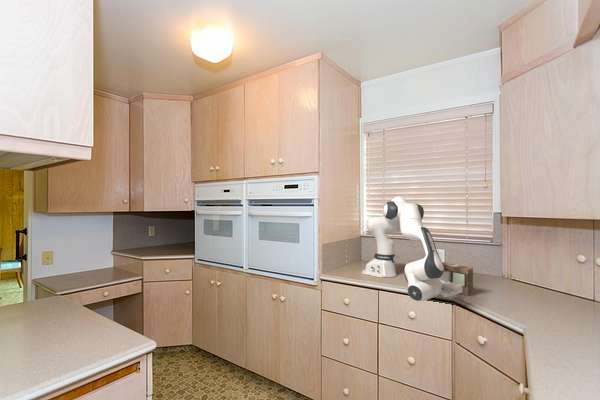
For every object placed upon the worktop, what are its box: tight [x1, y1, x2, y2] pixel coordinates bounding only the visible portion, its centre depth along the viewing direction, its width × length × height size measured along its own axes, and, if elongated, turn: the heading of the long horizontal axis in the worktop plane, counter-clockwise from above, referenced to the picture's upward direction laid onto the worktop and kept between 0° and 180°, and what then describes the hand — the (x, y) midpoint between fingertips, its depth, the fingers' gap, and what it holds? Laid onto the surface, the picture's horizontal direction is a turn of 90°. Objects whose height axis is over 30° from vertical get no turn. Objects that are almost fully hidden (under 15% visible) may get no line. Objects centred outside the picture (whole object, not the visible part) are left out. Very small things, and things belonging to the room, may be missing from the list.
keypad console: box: [442, 261, 474, 297], centre depth 174 cm, size 24×6×15 cm, turn 37°
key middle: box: [438, 270, 452, 282], centre depth 172 cm, size 6×4×6 cm
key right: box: [453, 272, 466, 286], centre depth 167 cm, size 6×4×6 cm
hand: (447, 282), depth 158 cm, fingers closed
